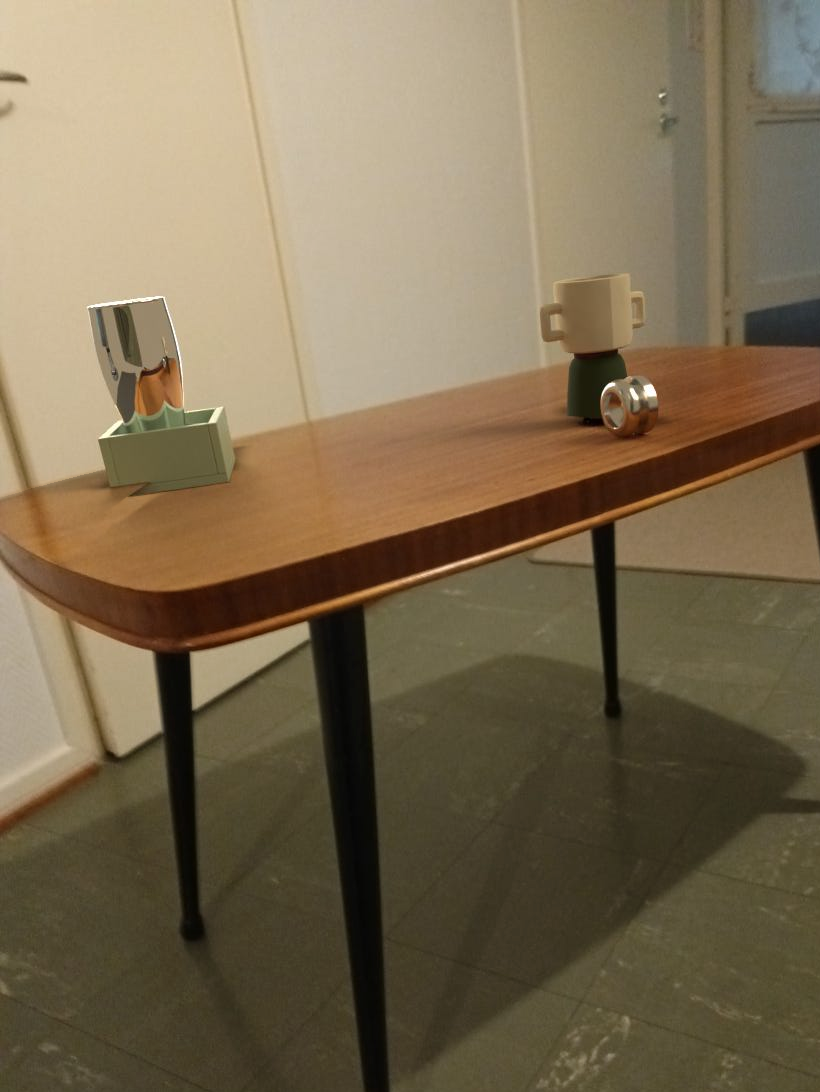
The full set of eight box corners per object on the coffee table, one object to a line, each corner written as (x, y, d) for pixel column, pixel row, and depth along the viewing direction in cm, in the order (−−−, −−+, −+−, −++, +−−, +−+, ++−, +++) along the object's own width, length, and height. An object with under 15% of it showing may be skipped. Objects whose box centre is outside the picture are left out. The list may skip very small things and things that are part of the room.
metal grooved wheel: (659, 436, 85) (657, 377, 83) (631, 442, 84) (627, 383, 82) (626, 429, 89) (623, 373, 87) (599, 435, 88) (595, 378, 86)
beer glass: (112, 480, 90) (67, 309, 84) (167, 461, 96) (128, 300, 90) (166, 481, 87) (123, 303, 81) (220, 461, 92) (183, 294, 86)
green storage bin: (113, 499, 86) (97, 438, 84) (130, 475, 96) (117, 420, 94) (229, 482, 87) (216, 422, 85) (235, 460, 97) (224, 406, 95)
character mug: (631, 406, 100) (624, 270, 95) (668, 414, 94) (663, 270, 89) (533, 424, 97) (521, 285, 92) (566, 434, 90) (554, 285, 85)
